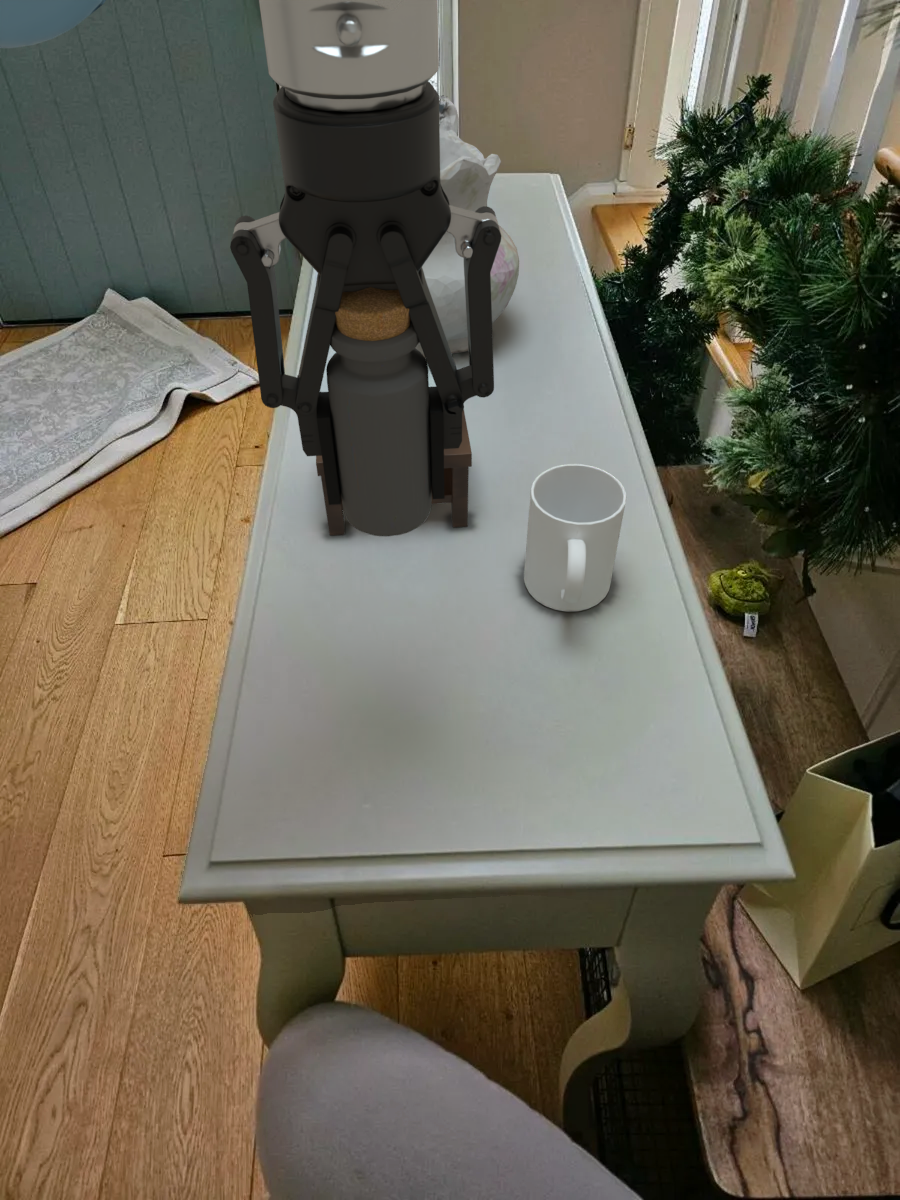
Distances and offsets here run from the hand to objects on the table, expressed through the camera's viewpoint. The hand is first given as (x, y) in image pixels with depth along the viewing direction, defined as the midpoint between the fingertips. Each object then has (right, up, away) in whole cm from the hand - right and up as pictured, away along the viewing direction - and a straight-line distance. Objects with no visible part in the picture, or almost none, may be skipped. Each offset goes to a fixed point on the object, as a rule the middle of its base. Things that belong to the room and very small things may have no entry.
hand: (386, 487), depth 55 cm
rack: (-1, +3, +32) cm, 32 cm away
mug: (+15, -7, +22) cm, 27 cm away
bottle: (0, -1, +1) cm, 2 cm away
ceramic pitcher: (+3, +27, +55) cm, 62 cm away
